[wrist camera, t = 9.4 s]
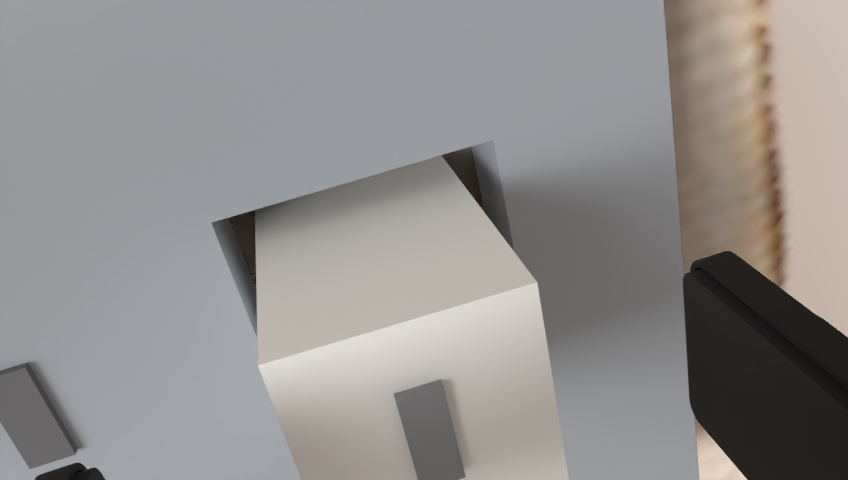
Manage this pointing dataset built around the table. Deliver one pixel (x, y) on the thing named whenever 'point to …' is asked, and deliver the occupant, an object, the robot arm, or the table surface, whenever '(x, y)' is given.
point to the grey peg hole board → (311, 172)
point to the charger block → (403, 335)
